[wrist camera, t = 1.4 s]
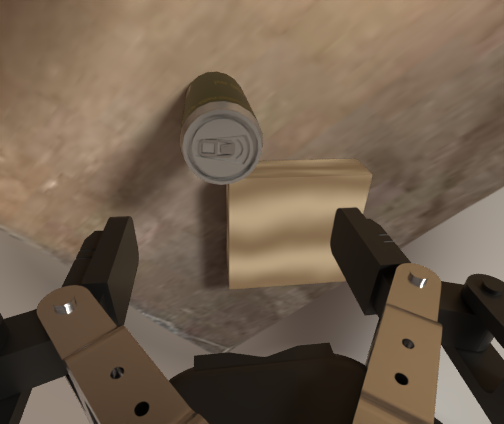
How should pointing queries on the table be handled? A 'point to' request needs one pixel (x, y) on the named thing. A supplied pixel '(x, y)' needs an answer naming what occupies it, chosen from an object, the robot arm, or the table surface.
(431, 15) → the table surface
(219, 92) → the beer can
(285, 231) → the oak pedestal
